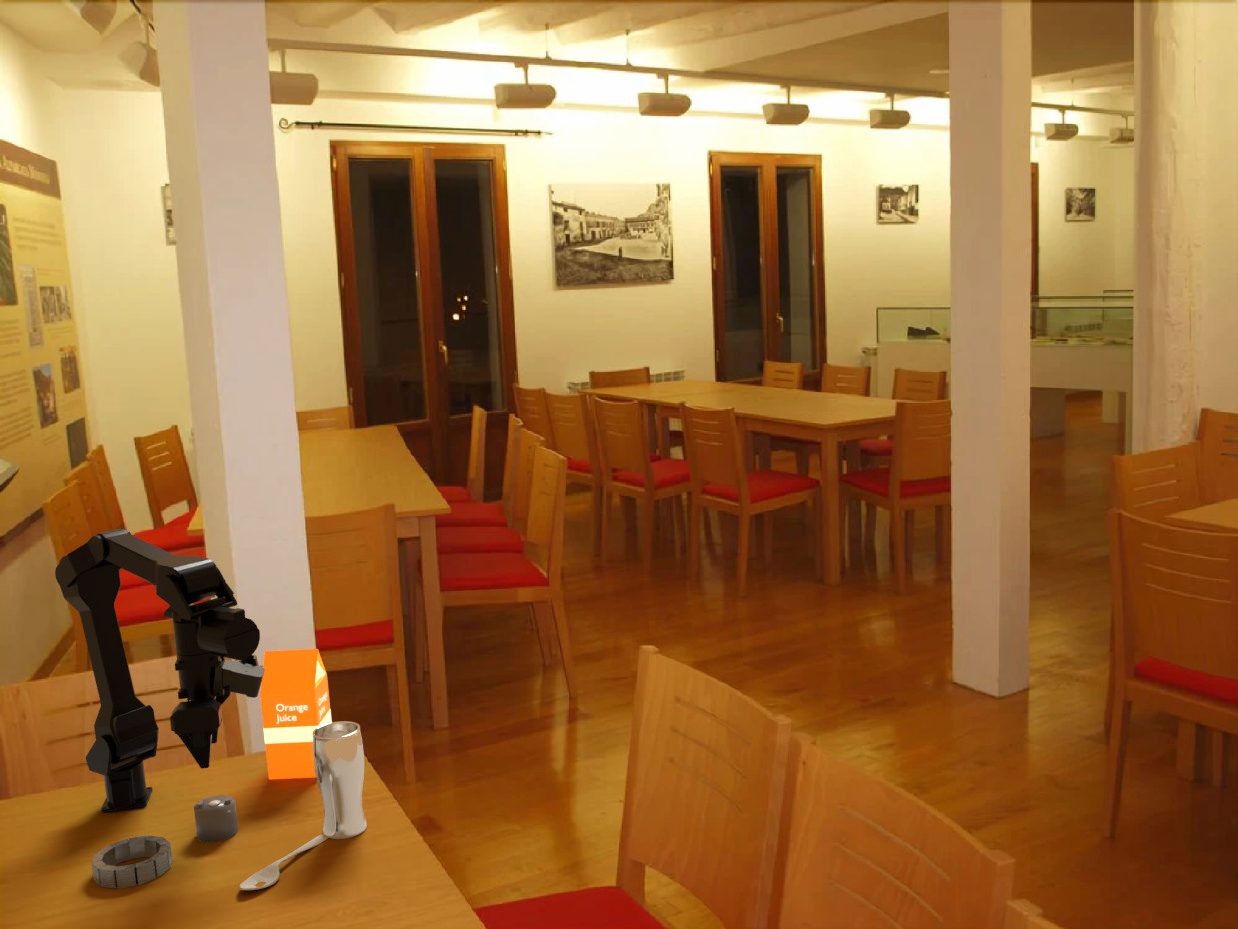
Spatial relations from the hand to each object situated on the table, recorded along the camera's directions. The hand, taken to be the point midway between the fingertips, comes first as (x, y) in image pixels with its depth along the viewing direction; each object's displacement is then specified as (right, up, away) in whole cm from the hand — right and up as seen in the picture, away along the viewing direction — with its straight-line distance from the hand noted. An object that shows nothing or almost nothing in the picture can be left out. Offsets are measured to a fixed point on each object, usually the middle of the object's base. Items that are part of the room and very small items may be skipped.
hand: (209, 755), depth 165 cm
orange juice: (+7, -8, +23) cm, 26 cm away
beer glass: (+19, -11, +1) cm, 22 cm away
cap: (+1, -12, +2) cm, 12 cm away
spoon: (+14, -13, -7) cm, 20 cm away
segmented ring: (-7, -14, -8) cm, 17 cm away
